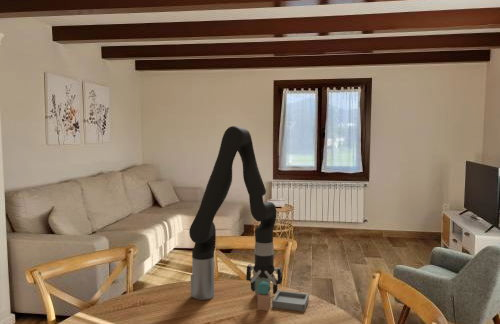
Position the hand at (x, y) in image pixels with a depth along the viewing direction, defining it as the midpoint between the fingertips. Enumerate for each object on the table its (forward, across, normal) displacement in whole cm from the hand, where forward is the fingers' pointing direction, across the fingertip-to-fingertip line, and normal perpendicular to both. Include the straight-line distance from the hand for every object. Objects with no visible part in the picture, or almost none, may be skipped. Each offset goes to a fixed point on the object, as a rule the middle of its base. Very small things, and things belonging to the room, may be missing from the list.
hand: (264, 292), depth 161 cm
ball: (+1, 0, 0) cm, 1 cm away
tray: (+7, +10, +7) cm, 14 cm away
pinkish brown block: (+6, 0, 0) cm, 6 cm away
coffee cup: (+7, -4, +12) cm, 14 cm away
